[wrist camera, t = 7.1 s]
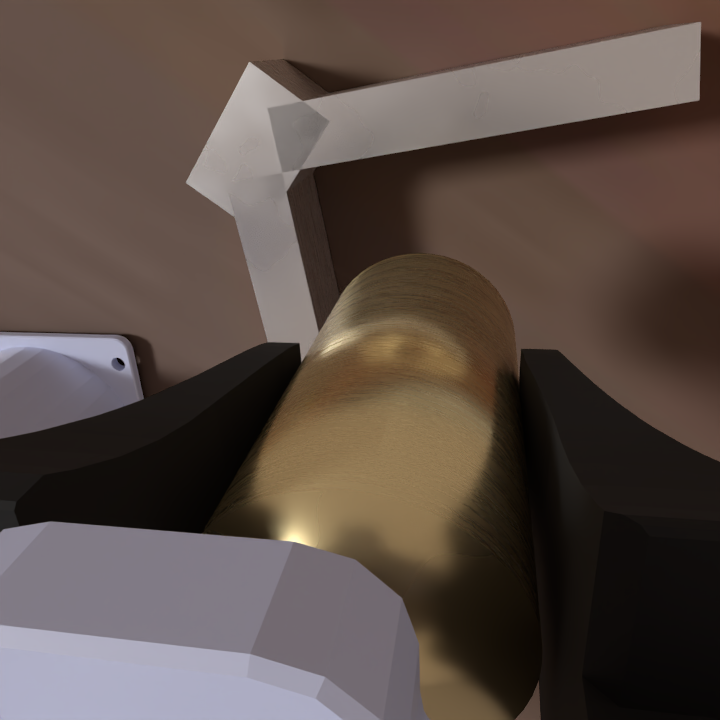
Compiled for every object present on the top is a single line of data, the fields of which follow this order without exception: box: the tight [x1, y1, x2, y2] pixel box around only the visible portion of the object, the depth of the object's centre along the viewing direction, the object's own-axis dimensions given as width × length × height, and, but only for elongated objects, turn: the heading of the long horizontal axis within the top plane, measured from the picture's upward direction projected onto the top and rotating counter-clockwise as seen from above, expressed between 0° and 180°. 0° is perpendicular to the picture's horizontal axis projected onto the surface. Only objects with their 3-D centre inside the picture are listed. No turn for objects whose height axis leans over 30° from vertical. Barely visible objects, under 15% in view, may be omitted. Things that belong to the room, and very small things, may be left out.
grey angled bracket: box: [186, 22, 701, 363], centre depth 19 cm, size 9×16×3 cm, turn 146°
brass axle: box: [202, 253, 542, 720], centre depth 11 cm, size 4×4×8 cm
